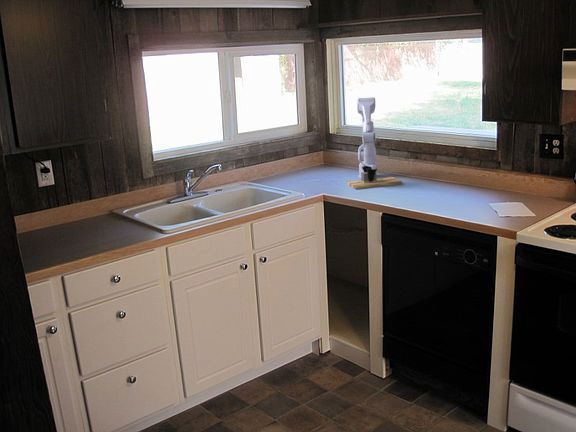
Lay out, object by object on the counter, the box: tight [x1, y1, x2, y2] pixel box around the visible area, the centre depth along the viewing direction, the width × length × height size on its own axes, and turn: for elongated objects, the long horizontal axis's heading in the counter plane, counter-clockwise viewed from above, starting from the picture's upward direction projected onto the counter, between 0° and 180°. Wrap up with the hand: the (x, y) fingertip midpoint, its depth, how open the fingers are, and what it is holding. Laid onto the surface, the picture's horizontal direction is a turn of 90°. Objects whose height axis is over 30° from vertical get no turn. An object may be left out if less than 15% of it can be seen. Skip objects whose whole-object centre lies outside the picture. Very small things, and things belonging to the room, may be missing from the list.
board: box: [346, 176, 403, 190], centre depth 333 cm, size 14×26×2 cm, turn 104°
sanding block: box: [360, 172, 378, 183], centre depth 331 cm, size 4×7×5 cm, turn 104°
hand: (369, 180), depth 332 cm, fingers closed on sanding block, 4 cm apart
